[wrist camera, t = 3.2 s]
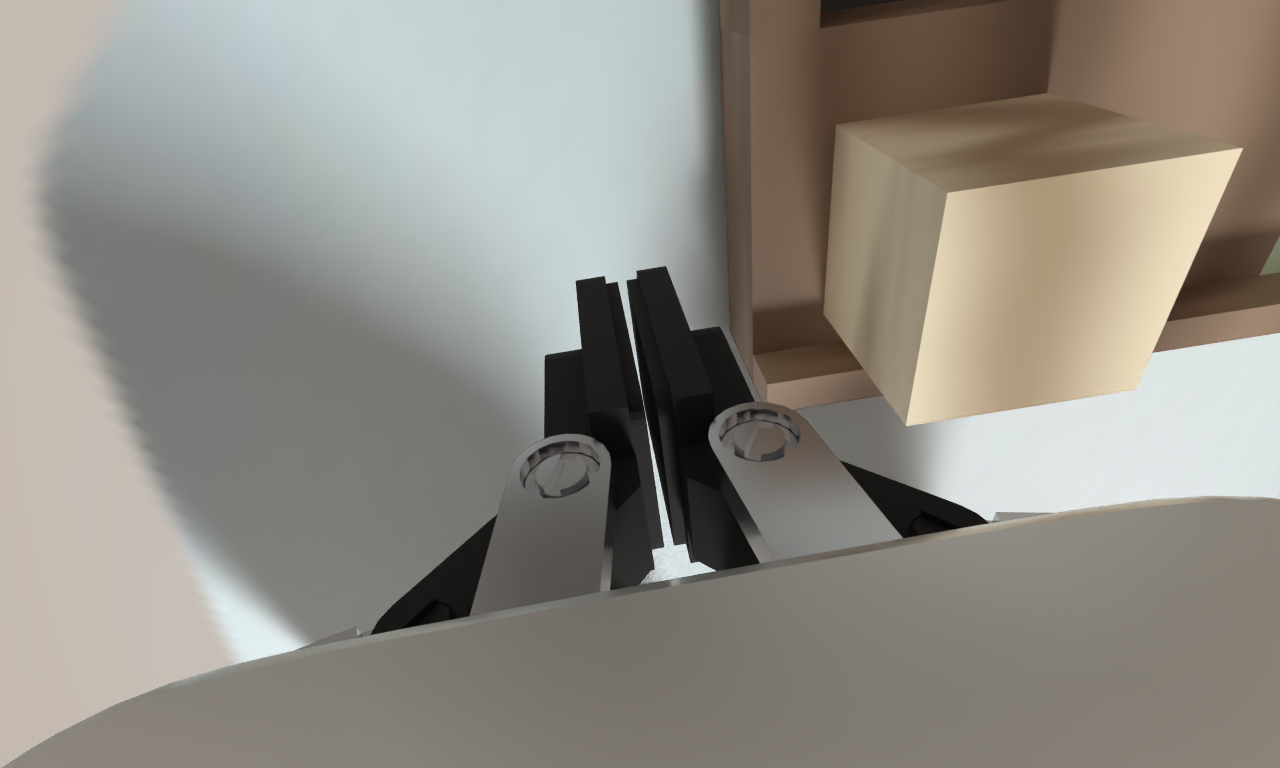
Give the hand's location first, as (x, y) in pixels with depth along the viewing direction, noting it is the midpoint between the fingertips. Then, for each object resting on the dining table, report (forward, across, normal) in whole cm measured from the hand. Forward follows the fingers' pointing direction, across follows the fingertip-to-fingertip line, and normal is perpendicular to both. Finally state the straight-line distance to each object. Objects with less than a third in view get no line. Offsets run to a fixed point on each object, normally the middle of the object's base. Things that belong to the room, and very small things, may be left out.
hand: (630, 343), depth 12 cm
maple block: (+4, -8, 0) cm, 9 cm away
